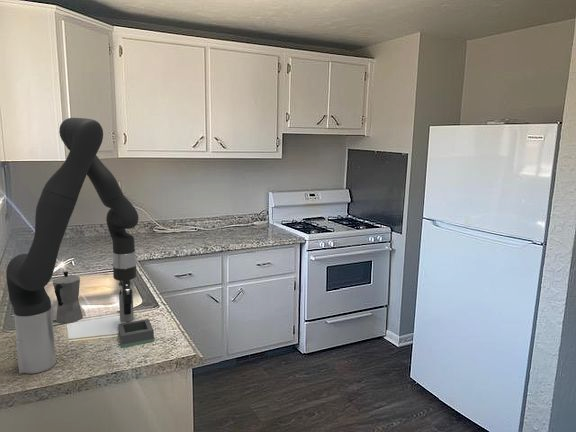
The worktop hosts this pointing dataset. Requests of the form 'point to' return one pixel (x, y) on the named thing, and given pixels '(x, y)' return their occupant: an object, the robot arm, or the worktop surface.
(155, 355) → the worktop surface
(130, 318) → the dark grey cylinder
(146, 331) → the socket board
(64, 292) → the coffeepot
